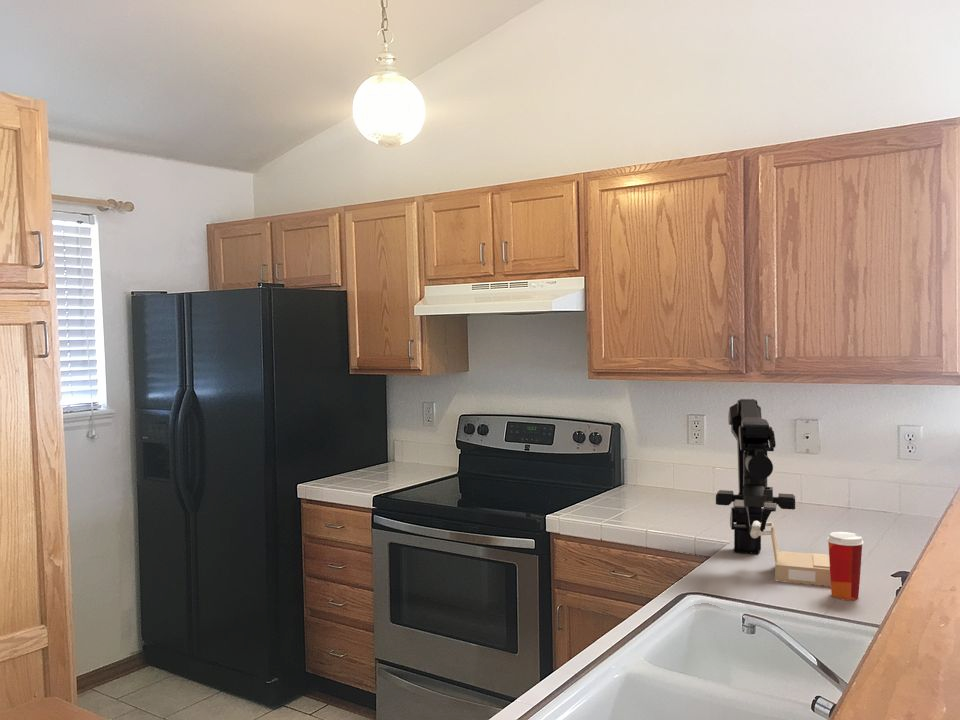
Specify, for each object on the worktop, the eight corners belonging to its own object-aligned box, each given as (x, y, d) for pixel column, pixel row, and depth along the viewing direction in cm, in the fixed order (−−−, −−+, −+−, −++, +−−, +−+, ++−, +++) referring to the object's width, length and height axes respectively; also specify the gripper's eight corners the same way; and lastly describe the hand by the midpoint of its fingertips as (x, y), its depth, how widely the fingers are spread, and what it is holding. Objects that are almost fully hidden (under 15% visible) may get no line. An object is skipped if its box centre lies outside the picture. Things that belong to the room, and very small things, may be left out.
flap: (776, 561, 198) (754, 562, 200) (777, 549, 208) (756, 550, 210) (771, 529, 198) (749, 530, 200) (773, 519, 208) (751, 520, 210)
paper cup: (853, 590, 190) (853, 530, 189) (870, 601, 182) (870, 539, 182) (820, 591, 189) (820, 531, 189) (835, 602, 182) (835, 540, 181)
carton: (775, 581, 197) (775, 563, 197) (776, 566, 209) (776, 549, 209) (847, 588, 191) (847, 569, 191) (844, 572, 204) (844, 554, 203)
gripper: (713, 475, 200) (713, 538, 201) (795, 479, 193) (795, 544, 194) (717, 468, 210) (717, 528, 211) (795, 471, 204) (795, 533, 204)
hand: (755, 533), depth 205 cm, fingers open, 3 cm apart
